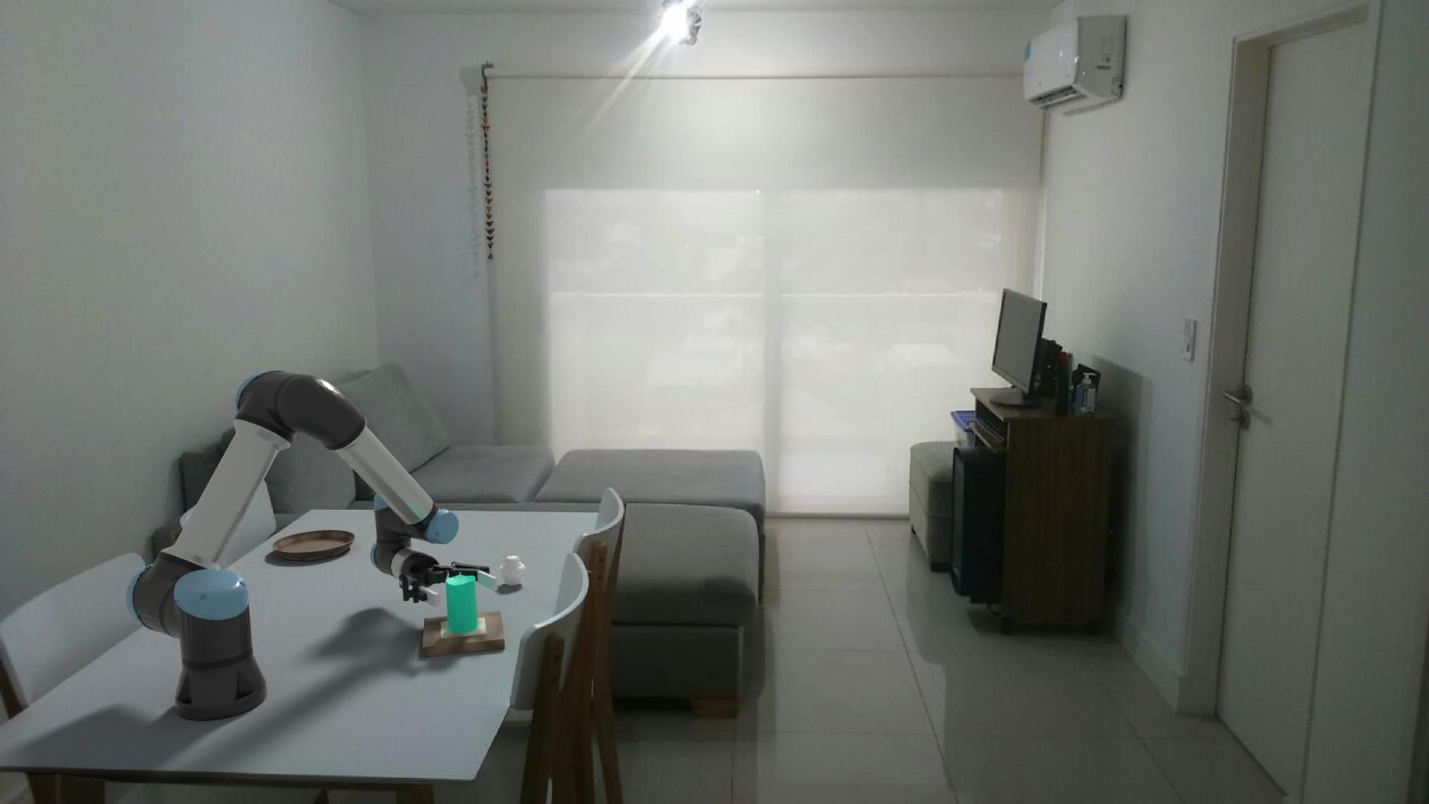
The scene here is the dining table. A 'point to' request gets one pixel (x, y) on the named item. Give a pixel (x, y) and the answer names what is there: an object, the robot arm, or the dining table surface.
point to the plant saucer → (313, 544)
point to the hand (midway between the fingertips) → (467, 592)
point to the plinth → (463, 635)
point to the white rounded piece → (512, 570)
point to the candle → (461, 604)
